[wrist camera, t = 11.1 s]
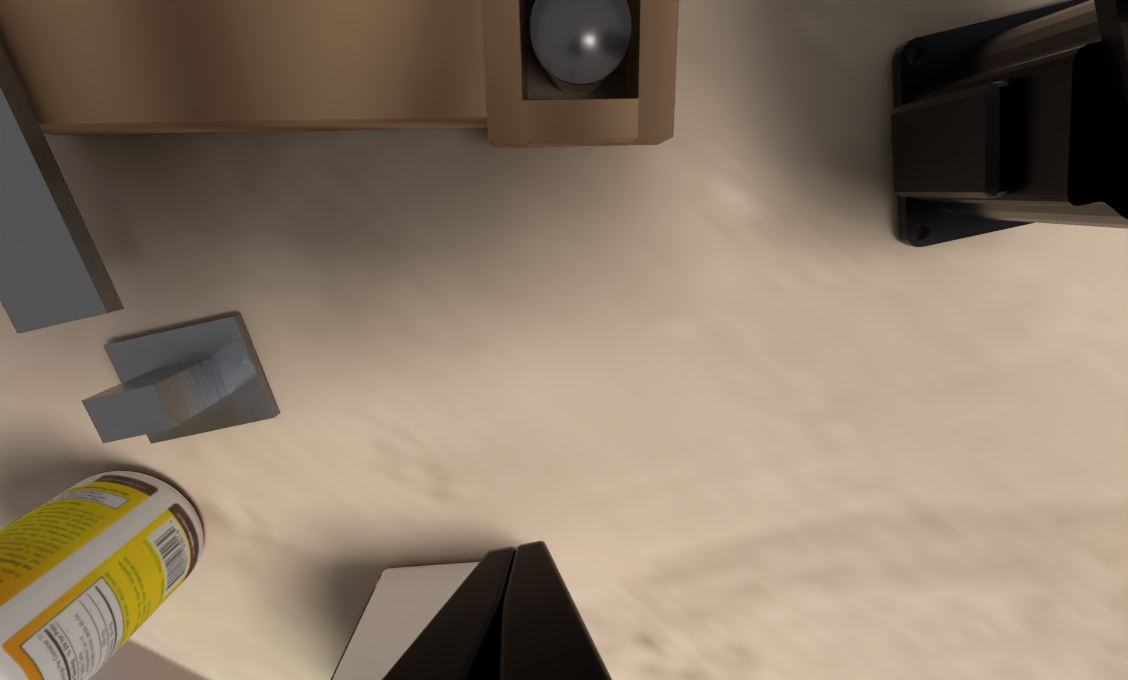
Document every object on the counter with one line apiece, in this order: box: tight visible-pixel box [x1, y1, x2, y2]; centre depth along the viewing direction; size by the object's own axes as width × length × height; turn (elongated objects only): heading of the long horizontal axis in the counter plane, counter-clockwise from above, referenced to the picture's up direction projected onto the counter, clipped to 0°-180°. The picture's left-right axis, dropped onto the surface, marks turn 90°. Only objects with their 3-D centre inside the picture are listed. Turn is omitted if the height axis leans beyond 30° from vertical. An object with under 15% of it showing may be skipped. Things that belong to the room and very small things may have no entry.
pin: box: [530, 0, 631, 94], centre depth 15 cm, size 3×3×4 cm
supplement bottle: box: [0, 471, 204, 680], centre depth 17 cm, size 6×6×10 cm
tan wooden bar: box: [0, 0, 679, 147], centre depth 15 cm, size 20×5×3 cm, turn 91°
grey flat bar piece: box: [0, 42, 280, 443], centre depth 15 cm, size 5×21×4 cm, turn 13°
